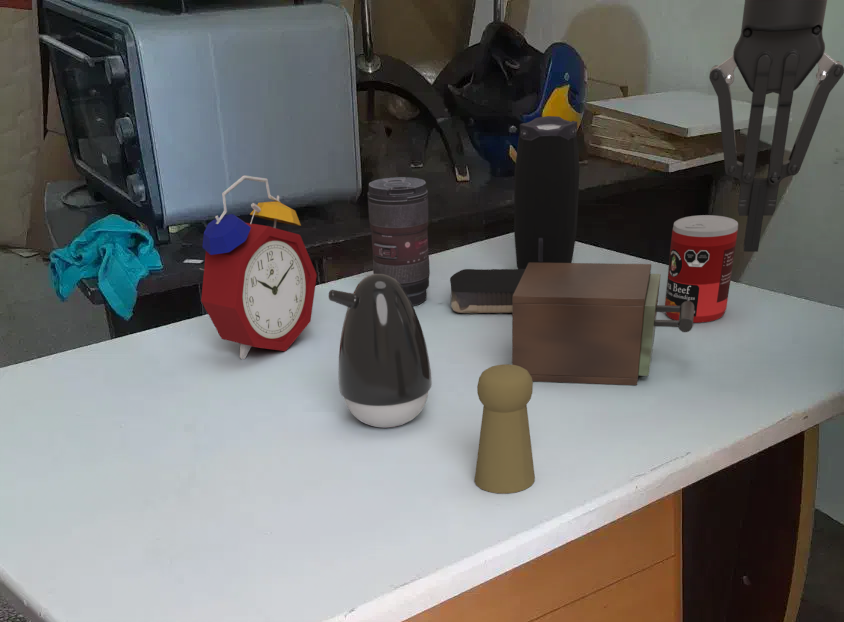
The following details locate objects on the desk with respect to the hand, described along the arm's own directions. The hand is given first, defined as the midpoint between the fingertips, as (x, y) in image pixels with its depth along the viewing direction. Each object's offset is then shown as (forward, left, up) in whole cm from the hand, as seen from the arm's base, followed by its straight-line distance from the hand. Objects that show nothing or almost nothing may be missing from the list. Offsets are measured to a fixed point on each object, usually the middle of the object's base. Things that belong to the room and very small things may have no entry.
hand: (750, 247), depth 110 cm
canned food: (+11, -16, -14) cm, 24 cm away
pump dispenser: (+29, +30, -14) cm, 44 cm away
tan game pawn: (+10, +37, -14) cm, 40 cm away
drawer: (+13, +4, -12) cm, 19 cm away
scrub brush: (+35, -9, -14) cm, 39 cm away
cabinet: (+17, +6, -13) cm, 22 cm away
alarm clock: (+57, +18, -14) cm, 61 cm away
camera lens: (+50, -5, -14) cm, 52 cm away
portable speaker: (+37, -23, -14) cm, 46 cm away
